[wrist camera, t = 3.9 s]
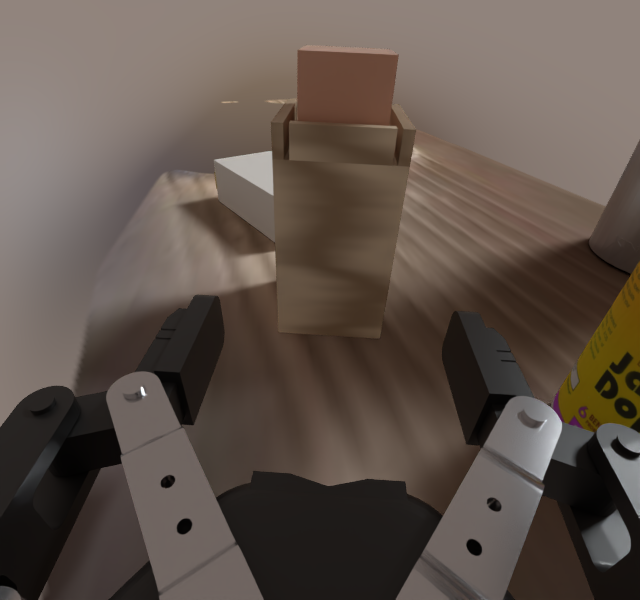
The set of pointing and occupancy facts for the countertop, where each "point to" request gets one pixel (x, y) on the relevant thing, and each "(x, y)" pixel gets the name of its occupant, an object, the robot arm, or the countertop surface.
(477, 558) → the robot arm
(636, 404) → the supplement bottle
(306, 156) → the box
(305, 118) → the block
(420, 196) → the countertop surface
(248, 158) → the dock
